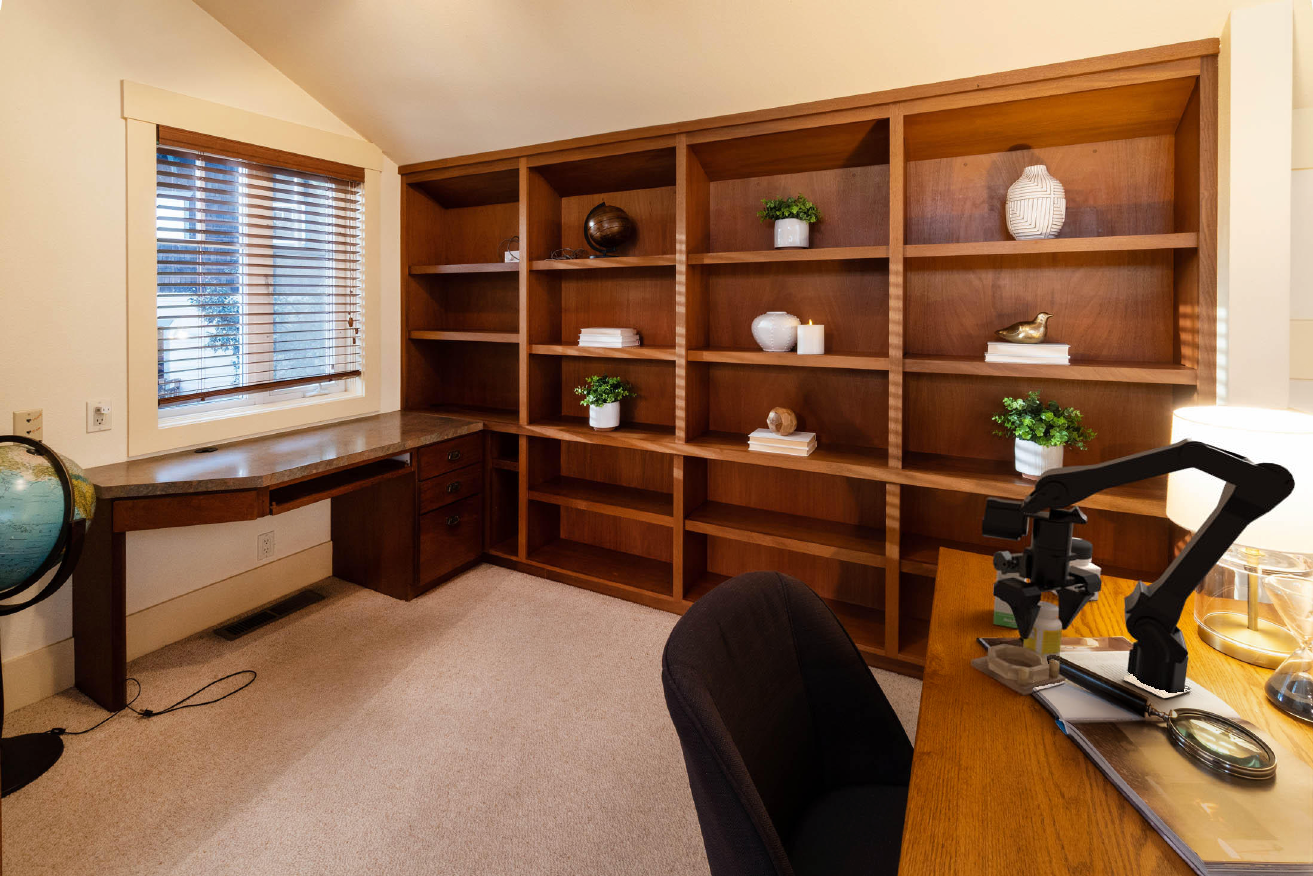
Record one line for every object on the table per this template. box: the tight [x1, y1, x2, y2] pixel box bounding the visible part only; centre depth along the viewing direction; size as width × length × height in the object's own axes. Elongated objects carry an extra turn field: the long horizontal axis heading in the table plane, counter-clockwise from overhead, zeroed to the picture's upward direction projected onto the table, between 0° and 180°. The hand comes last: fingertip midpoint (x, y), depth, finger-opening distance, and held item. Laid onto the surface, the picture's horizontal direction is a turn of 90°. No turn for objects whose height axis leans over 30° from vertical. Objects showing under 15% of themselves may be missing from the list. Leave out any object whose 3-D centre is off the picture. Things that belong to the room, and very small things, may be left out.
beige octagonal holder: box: [970, 643, 1066, 696], centre depth 107 cm, size 10×9×3 cm
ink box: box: [993, 570, 1028, 629], centre depth 127 cm, size 9×5×12 cm, turn 148°
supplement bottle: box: [1022, 600, 1063, 657], centre depth 111 cm, size 5×5×10 cm
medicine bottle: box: [1050, 537, 1102, 601], centre depth 139 cm, size 7×7×12 cm
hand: (1043, 633), depth 111 cm, fingers open, 9 cm apart
